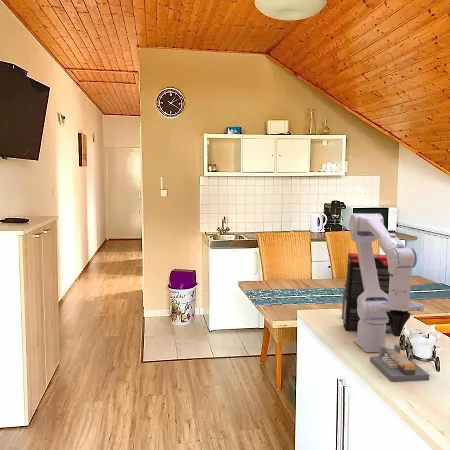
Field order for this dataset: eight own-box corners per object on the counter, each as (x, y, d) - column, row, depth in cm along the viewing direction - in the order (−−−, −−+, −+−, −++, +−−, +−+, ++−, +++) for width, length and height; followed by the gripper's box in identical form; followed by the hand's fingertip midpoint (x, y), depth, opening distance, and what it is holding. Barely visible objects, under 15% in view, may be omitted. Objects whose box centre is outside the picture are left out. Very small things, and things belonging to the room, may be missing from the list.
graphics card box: (390, 327, 167) (395, 253, 163) (395, 334, 160) (401, 257, 156) (342, 324, 168) (346, 251, 165) (345, 331, 162) (349, 255, 158)
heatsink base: (369, 361, 137) (371, 345, 136) (404, 359, 139) (405, 344, 138) (391, 381, 124) (392, 363, 124) (429, 379, 126) (430, 362, 125)
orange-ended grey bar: (384, 351, 137) (384, 348, 137) (393, 351, 137) (393, 348, 137) (404, 369, 125) (405, 366, 125) (415, 369, 125) (415, 366, 125)
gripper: (381, 293, 126) (378, 341, 128) (431, 293, 128) (427, 339, 130) (370, 287, 133) (367, 332, 135) (417, 286, 135) (414, 330, 137)
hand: (396, 335), depth 133 cm, fingers closed
